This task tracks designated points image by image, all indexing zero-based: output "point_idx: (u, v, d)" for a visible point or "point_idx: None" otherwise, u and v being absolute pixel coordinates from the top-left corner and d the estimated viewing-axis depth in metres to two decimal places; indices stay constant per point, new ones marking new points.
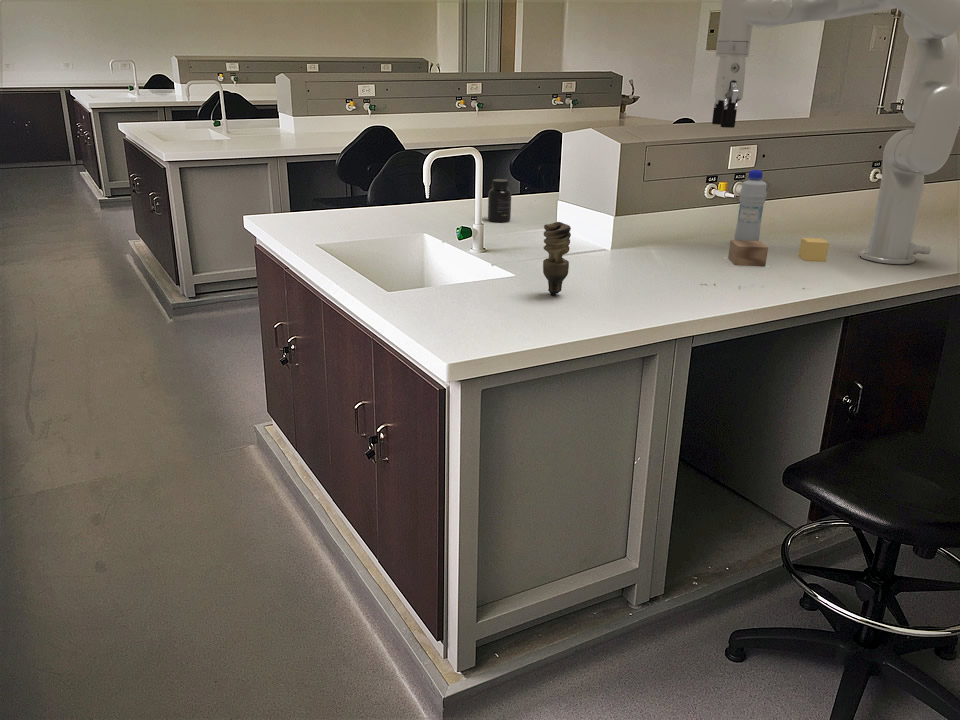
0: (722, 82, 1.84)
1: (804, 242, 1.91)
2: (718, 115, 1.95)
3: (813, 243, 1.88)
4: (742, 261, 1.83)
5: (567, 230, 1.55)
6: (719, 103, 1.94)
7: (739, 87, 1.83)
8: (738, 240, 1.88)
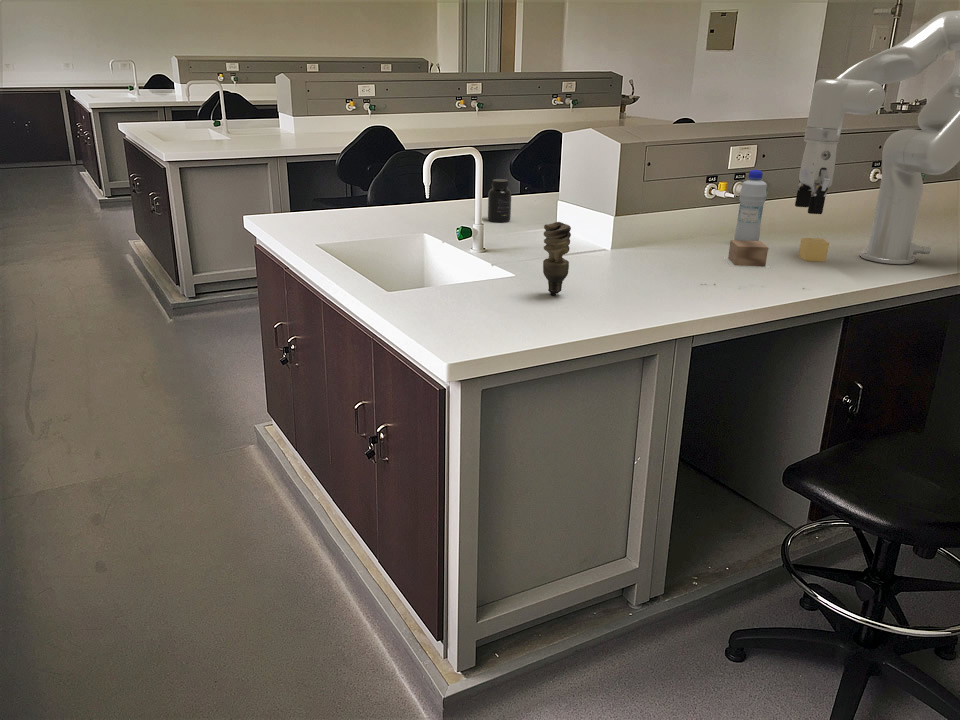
0: (811, 168, 1.81)
1: (804, 242, 1.91)
2: (802, 198, 1.91)
3: (813, 243, 1.88)
4: (742, 261, 1.83)
5: (567, 230, 1.55)
6: (803, 186, 1.91)
7: (829, 174, 1.80)
8: (738, 240, 1.88)
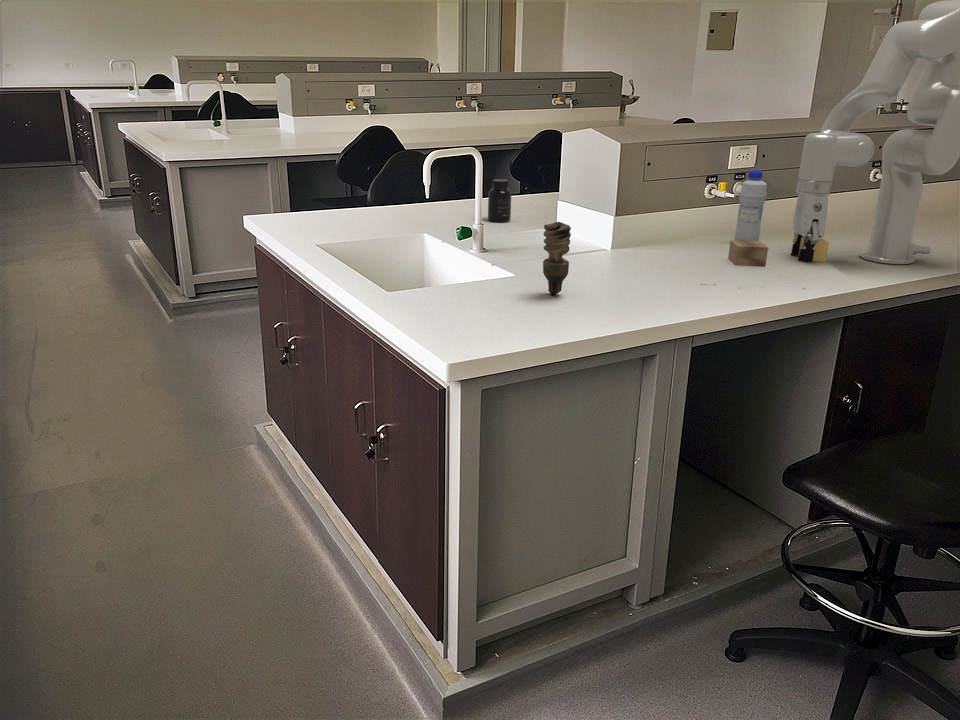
0: (804, 220, 1.85)
1: None
2: (797, 251, 1.94)
3: None
4: (742, 261, 1.83)
5: (567, 230, 1.55)
6: (798, 239, 1.94)
7: (821, 225, 1.84)
8: (738, 240, 1.88)
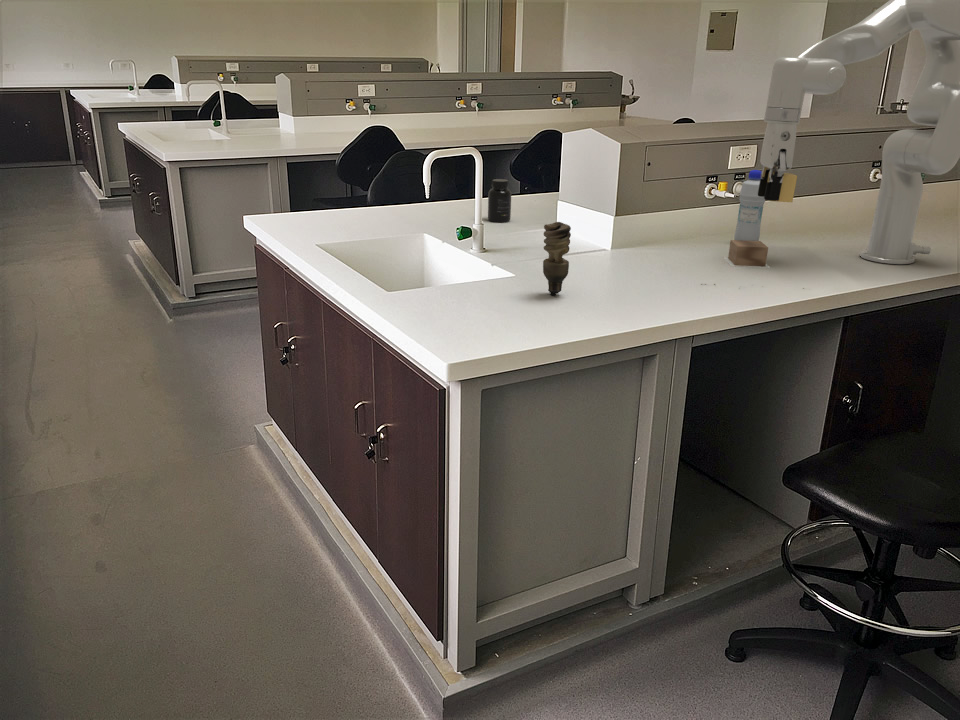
0: (771, 150, 1.75)
1: None
2: (764, 187, 1.84)
3: None
4: (742, 261, 1.83)
5: (567, 230, 1.55)
6: (766, 174, 1.84)
7: (789, 156, 1.74)
8: (738, 240, 1.88)
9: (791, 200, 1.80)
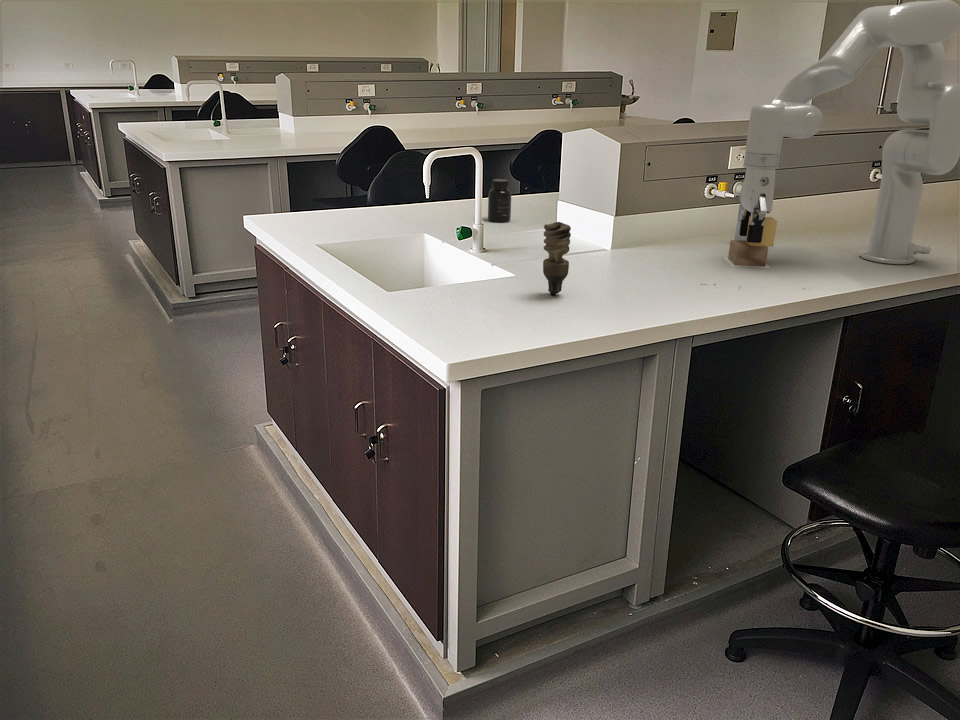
0: (750, 194, 1.78)
1: None
2: (746, 227, 1.87)
3: None
4: (742, 261, 1.83)
5: (567, 230, 1.55)
6: (747, 214, 1.87)
7: (768, 200, 1.76)
8: (738, 240, 1.88)
9: (772, 244, 1.82)
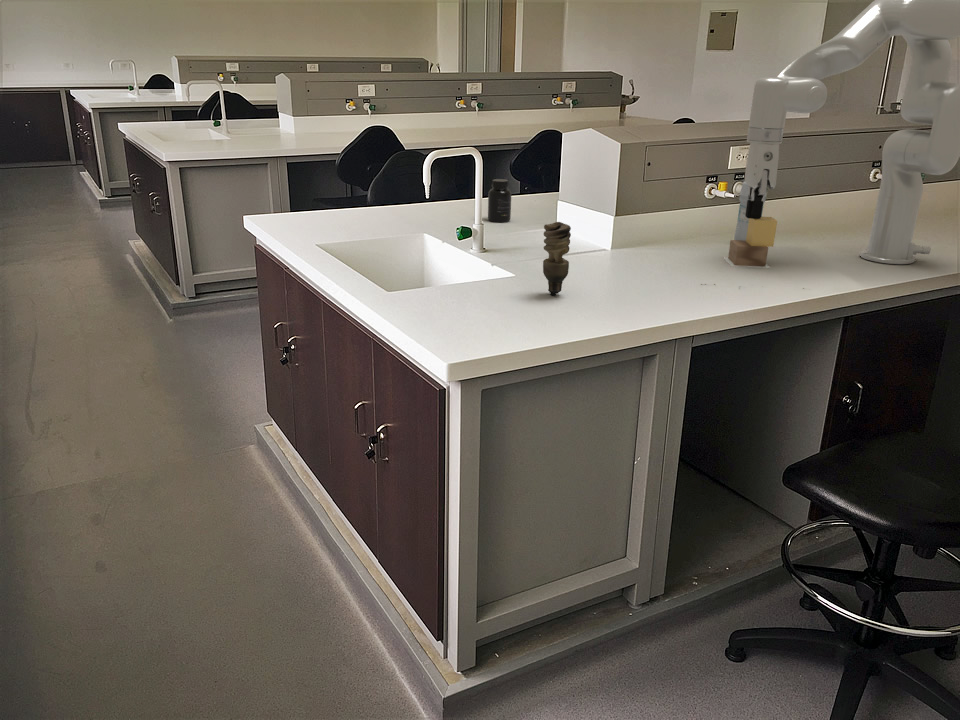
0: (754, 170, 1.76)
1: (752, 221, 1.83)
2: None
3: (761, 221, 1.81)
4: (742, 261, 1.83)
5: (567, 230, 1.55)
6: None
7: (772, 176, 1.74)
8: (738, 240, 1.88)
9: (772, 244, 1.82)
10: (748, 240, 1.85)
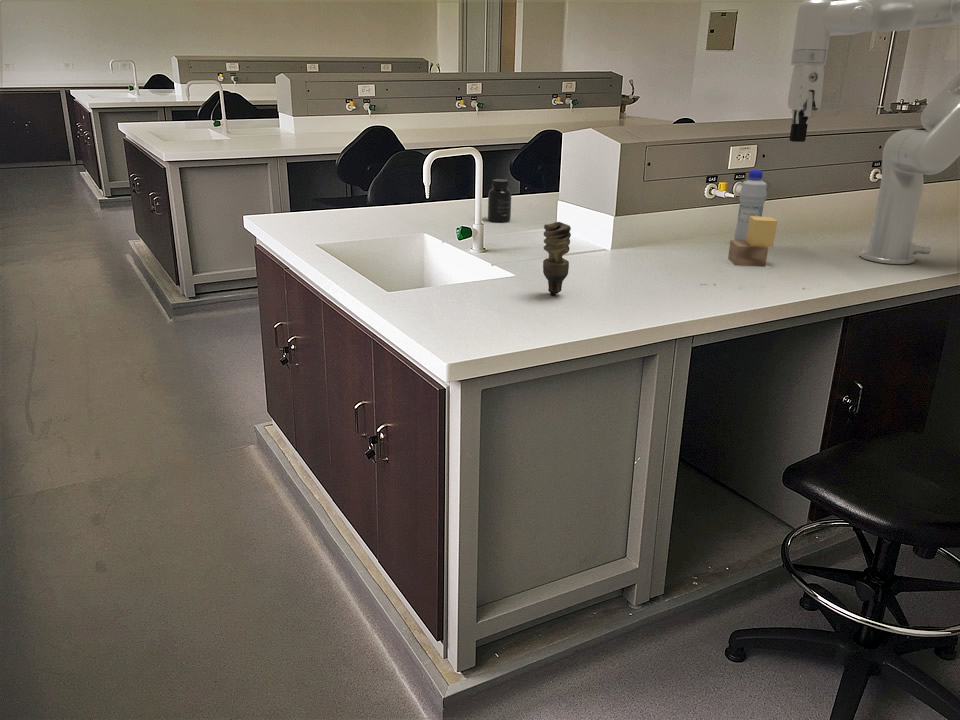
0: (799, 92, 1.80)
1: (752, 221, 1.83)
2: None
3: (761, 221, 1.81)
4: (742, 261, 1.83)
5: (567, 230, 1.55)
6: None
7: (817, 97, 1.79)
8: (738, 240, 1.88)
9: (772, 244, 1.82)
10: (748, 240, 1.85)
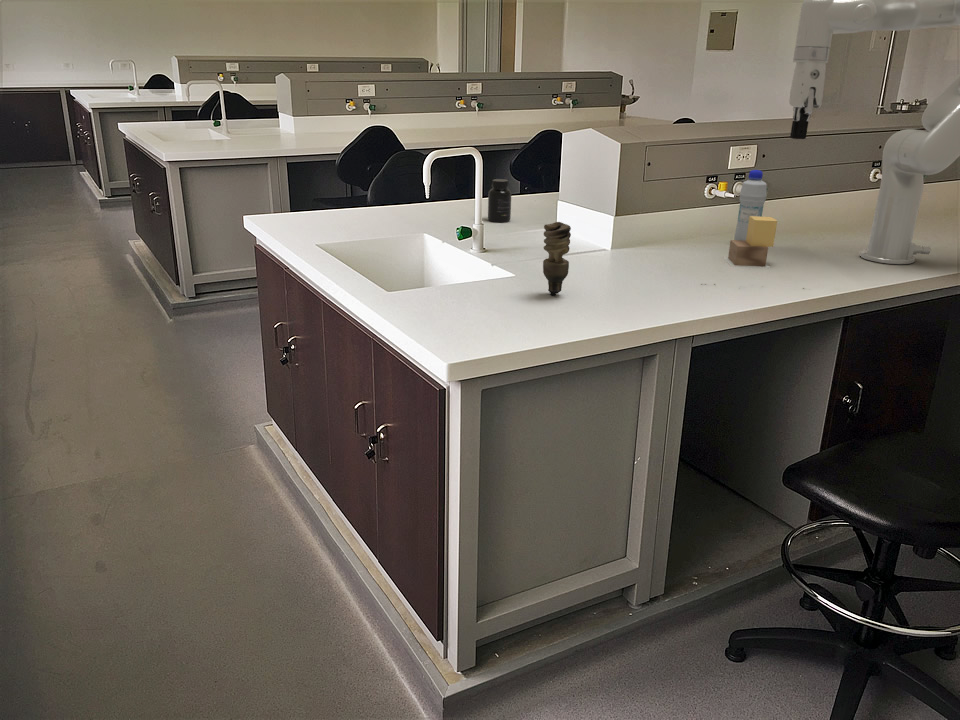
0: (801, 89, 1.80)
1: (752, 221, 1.83)
2: None
3: (761, 221, 1.81)
4: (742, 261, 1.83)
5: (567, 230, 1.55)
6: None
7: (819, 94, 1.79)
8: (738, 240, 1.88)
9: (772, 244, 1.82)
10: (748, 240, 1.85)
